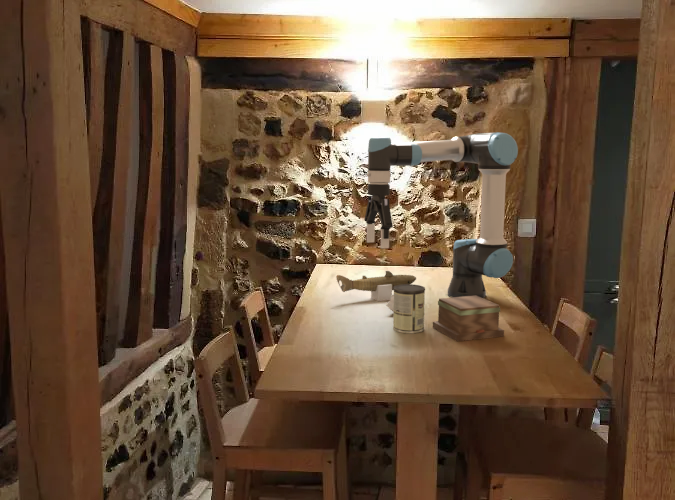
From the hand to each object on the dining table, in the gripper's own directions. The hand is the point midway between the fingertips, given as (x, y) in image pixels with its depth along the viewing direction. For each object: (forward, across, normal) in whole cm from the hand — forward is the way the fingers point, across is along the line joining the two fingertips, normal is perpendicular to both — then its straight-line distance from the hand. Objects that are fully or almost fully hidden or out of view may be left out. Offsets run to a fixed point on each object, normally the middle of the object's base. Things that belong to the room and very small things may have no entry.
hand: (377, 245), depth 216 cm
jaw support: (+26, -6, +14) cm, 30 cm away
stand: (+26, +24, +23) cm, 42 cm away
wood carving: (+26, -26, +10) cm, 38 cm away
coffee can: (+26, +16, +6) cm, 31 cm away
